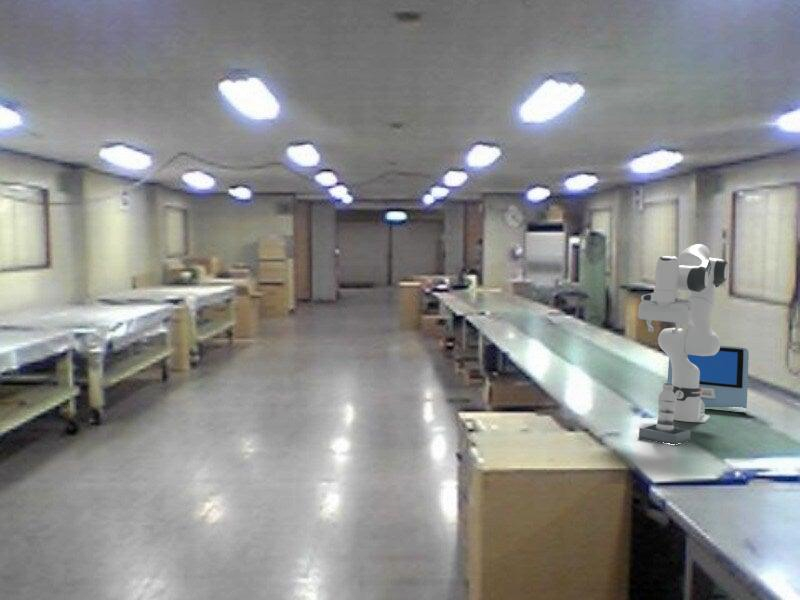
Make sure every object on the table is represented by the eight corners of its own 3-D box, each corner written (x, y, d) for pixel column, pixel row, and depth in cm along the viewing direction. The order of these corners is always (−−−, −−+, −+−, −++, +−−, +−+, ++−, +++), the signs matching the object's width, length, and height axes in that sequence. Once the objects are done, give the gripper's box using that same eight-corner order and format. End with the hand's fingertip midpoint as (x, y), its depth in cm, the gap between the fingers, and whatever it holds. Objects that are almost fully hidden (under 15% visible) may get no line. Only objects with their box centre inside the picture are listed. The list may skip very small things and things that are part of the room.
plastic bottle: (658, 433, 303) (662, 381, 302) (676, 437, 299) (680, 384, 298) (652, 436, 298) (656, 383, 297) (670, 439, 294) (674, 386, 293)
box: (654, 433, 308) (655, 423, 308) (689, 440, 299) (690, 430, 298) (638, 438, 297) (639, 428, 297) (675, 446, 288) (676, 435, 288)
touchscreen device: (666, 406, 372) (670, 342, 372) (665, 401, 391) (669, 340, 390) (746, 414, 362) (751, 349, 361) (741, 409, 381) (746, 347, 380)
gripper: (695, 299, 303) (692, 335, 304) (644, 295, 317) (641, 330, 318) (688, 299, 299) (685, 336, 299) (637, 295, 312) (634, 330, 313)
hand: (662, 333), depth 309 cm, fingers open, 8 cm apart
